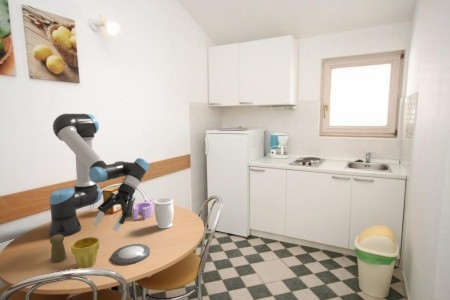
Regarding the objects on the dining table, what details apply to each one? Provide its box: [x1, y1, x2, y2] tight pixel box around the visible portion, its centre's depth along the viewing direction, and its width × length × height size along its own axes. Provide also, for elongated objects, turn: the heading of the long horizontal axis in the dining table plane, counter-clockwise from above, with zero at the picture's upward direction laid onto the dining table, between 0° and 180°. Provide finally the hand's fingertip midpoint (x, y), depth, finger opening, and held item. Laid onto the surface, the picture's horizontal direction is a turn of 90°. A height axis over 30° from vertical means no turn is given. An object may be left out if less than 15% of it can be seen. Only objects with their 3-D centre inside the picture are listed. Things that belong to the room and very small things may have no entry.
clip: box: [132, 198, 155, 221], centre depth 169 cm, size 20×12×7 cm, turn 0°
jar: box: [154, 197, 175, 230], centre depth 148 cm, size 11×10×15 cm
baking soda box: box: [102, 186, 122, 215], centre depth 174 cm, size 10×6×16 cm
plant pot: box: [70, 236, 100, 269], centre depth 110 cm, size 10×10×10 cm
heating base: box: [111, 243, 151, 266], centre depth 117 cm, size 16×16×1 cm
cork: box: [49, 234, 68, 264], centre depth 114 cm, size 6×6×11 cm
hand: (104, 227), depth 116 cm, fingers open, 13 cm apart
